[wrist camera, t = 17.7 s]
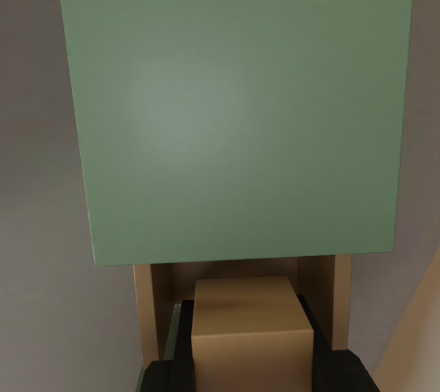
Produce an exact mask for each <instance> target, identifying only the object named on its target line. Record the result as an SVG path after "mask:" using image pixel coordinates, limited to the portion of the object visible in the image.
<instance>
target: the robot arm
mask: <svg viewBox="0 0 440 392" xmlns="http://www.w3.org/2000/svg"><path fill="white" fill-rule="evenodd" d="M296 296H297V298H298V300H299V302H300V304H301V306H302V308H303V310H304V312H305V314H306V316H307V318H308V320H309V322H310V325H311V327H312V329H313V331H314V334H313V368H312V392H380V391H379V389H378V387H377V386H376V384H375V383H374V381H373V379H372V378H371V377H370V375H369V373H368V371H367V370H365V367H364V365H363V364H362V362H361V360H360V359H359V357H357V356H356V355H355V354H354V353H352V352H351V351H350V350H349V349H346V350H332V348H331V347H330V345H329V343H328V341H327V339H326V337H325V335H324V333H323V331H322V330H321V328H320V326H319V324H318V322H317V320H316V318H315V316H314V315H313V313H312V311H311V309H310V307H309V305H308V303H307V301H306V300H305V298H304V296H303V294H296ZM194 302H195V299H194V300H182V306H181V312H180V318H179V324H178V331H177V337H176V343H175V350H174V356H173V360H156V361H152V362H151V363H150V364H149V366H148V367H147V368H146V369H145V372H144V375H143V379H142V383H141V387H140V391H139V392H195V378H194V363H193V356H192V341H191V335H192V324H193V313H194Z"/></svg>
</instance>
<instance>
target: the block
mask: <svg viewBox="0 0 440 392" xmlns="http://www.w3.org/2000/svg"><path fill="white" fill-rule="evenodd" d="M313 334H314V331H313V329H312V327H311V325H310V322H309V320H308V318H307V316H306V314H305V312H304V310H303V308H302V306H301V304H300V302H299V300H298V298H297V296H296V294H295V292H294V290H293V288H292V286H291V284H290V281H289V279H288V277H287V276H264V277H244V278H223V279H203V280H197V281H196V291H195V302H194V313H193V324H192V335H191V341H192V356H193V363H194V378H195V392H312V368H313Z"/></svg>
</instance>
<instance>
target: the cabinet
mask: <svg viewBox="0 0 440 392" xmlns="http://www.w3.org/2000/svg"><path fill="white" fill-rule="evenodd" d="M60 2H61V10H62V18H63V26H64V33H65V41H66V49H67V56H68V64H69V72H70V79H71V87H72V95H73V102H74V110H75V118H76V125H77V133H78V141H79V148H80V156H81V164H82V171H83V179H84V187H85V194H86V202H87V210H88V218H89V225H90V233H91V241H92V248H93V256H94V264H95V266H115V265H135V264H156V263H176V262H197V261H217V260H238V259H258V258H278V257H299V256H319V255H340V254H360V253H381V252H393V251H394V239H395V226H396V213H397V200H398V187H399V174H400V161H401V147H402V134H403V121H404V108H405V95H406V82H407V69H408V56H409V43H410V30H411V17H412V4H413V0H60Z"/></svg>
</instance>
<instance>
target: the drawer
mask: <svg viewBox="0 0 440 392" xmlns="http://www.w3.org/2000/svg"><path fill="white" fill-rule="evenodd" d="M351 266H352V254H340V255H319V256H299V257H278V258H258V259H238V260H217V261H197V262H176V263H156V264H135V265H133V270H134V280H135V289H136V299H137V309H138V318H139V328H140V338H141V347H142V357H143V365H142V369H141V373H140V376H139V380H138V383H137V387H136V390H135V392H139V391H140V387H141V383H142V379H143V375H144V372H145V369H146V368H147V367H148V366H149V364H150V363H151V362H152V361H156V360H173V356H174V350H175V343H176V337H177V331H178V324H179V318H180V313H176V314H173V310H174V304H182V300H194V299H195V291H196V281H197V280H203V279H223V278H244V277H264V276H287V277H288V279H289V281H290V284H291V286H292V288H293V290H294V292H295V294H303V296H304V298H305V300H306V301H307V303H308V305H309V307H310V309H311V311H312V313H313V315H314V316H315V318H316V320H317V322H318V324H319V326H320V328H321V330H322V331H323V333H324V335H325V337H326V339H327V341H328V343H329V345H330V347H331V348H332V350H346V349H348V328H349V307H350V286H351Z"/></svg>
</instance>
